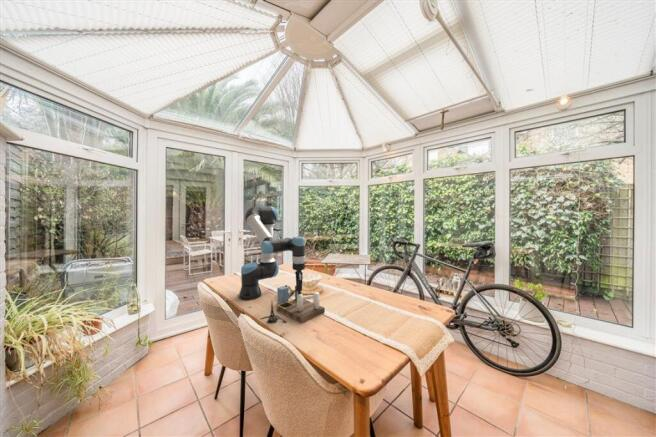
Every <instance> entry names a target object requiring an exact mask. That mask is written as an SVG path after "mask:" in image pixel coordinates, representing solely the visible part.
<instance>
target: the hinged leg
mask: <svg viewBox="0 0 656 437" xmlns="http://www.w3.org/2000/svg"><path fill="white" fill-rule="evenodd" d="M311 299H312V301H313V302H312V303H313V308H314V309H319V306H320V292H318V291H317V292H316V291H315V292H313V293H312V294H309V295H304V294H298V295H297V311H299V312H300V311H303V300H311Z"/></svg>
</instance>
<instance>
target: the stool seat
mask: <svg viewBox="0 0 656 437" xmlns="http://www.w3.org/2000/svg"><path fill="white" fill-rule="evenodd" d="M294 290H295V293H294V299H291V300H288V302H284V303H282V304H279V305H278V304H277V305H276V311H278V312H280V313H282V314H284V315H285V316H287V317H289V318H290V319H292V320H295V321H297V322H298V323H300V324H303V323H305V322H307V321H309V320H312V319H314V318H316V317H318V316H321V315H323V314H325V313H324V312H325V311H326V309H325V307H324V306H321V305H319V309H314V308H313V302H312V301H309V300H308V299H305V300H303V311H300V312H299V311H297V291H296V290H297V288H296V285H295V286H294Z"/></svg>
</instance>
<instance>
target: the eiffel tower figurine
mask: <svg viewBox="0 0 656 437" xmlns="http://www.w3.org/2000/svg"><path fill="white" fill-rule="evenodd" d="M270 303H271V305H270V307H271V308H270V309H271V310H270V315H267V316H263V317H260V318H259V320H264V319H267V321H266V324H277V322H278V320H280V321H281V320H282V323H283V324H286V323H288V321H286V320H285V319H283V318H282V317H280V316H279V315H277V314H275V312H274V307H273V306H274V305H273V303H274V302H273V300H271V302H270Z"/></svg>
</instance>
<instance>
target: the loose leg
mask: <svg viewBox="0 0 656 437" xmlns="http://www.w3.org/2000/svg"><path fill="white" fill-rule="evenodd" d="M276 290H277V305H279V304H282V303H284V302H288V301H289V297H288V287H285V285H282V286H280V287H277V288H276Z"/></svg>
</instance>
